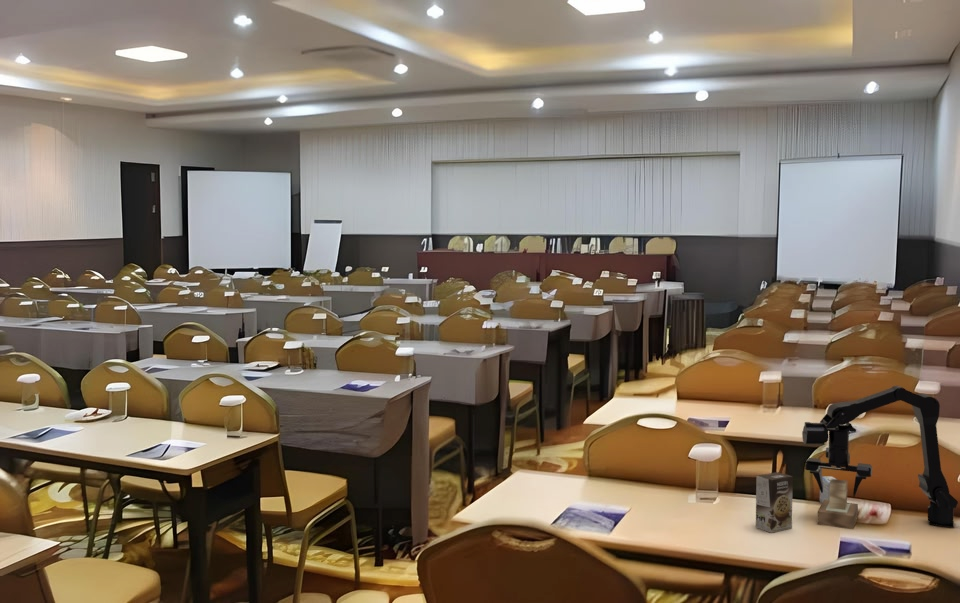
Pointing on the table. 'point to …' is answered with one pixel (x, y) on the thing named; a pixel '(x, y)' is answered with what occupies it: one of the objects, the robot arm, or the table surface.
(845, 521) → the walnut base
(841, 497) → the maple block
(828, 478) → the medicine box
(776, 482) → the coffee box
